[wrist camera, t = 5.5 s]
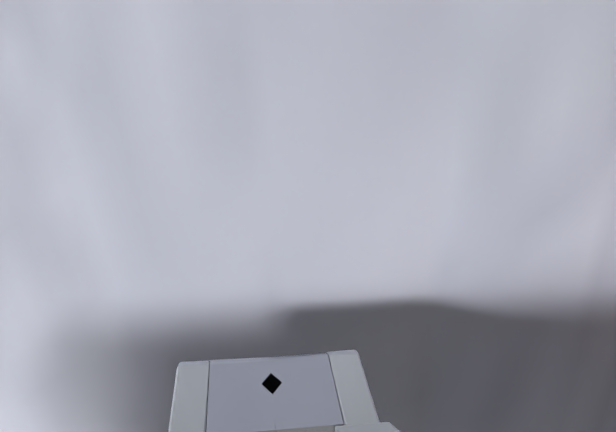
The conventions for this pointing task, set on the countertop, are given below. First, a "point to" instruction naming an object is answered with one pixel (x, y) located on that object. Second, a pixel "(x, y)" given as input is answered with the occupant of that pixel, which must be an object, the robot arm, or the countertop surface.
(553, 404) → the countertop surface
